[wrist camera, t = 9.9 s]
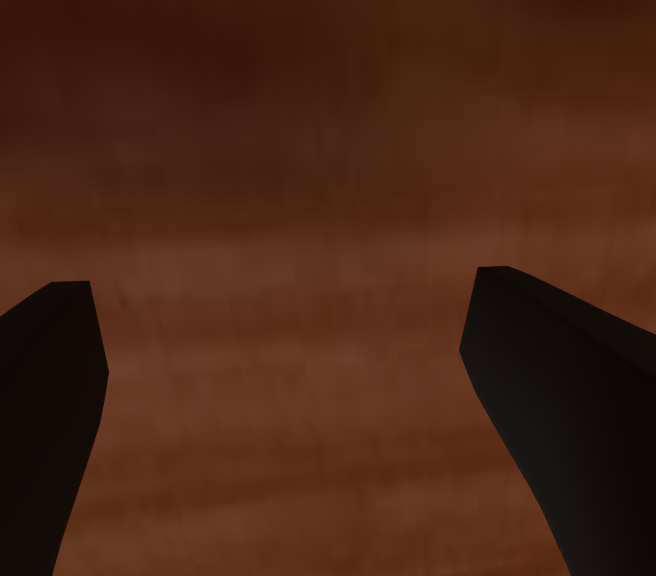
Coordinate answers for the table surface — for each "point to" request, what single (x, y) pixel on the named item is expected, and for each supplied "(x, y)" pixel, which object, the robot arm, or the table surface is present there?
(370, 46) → the table surface
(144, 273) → the table surface
